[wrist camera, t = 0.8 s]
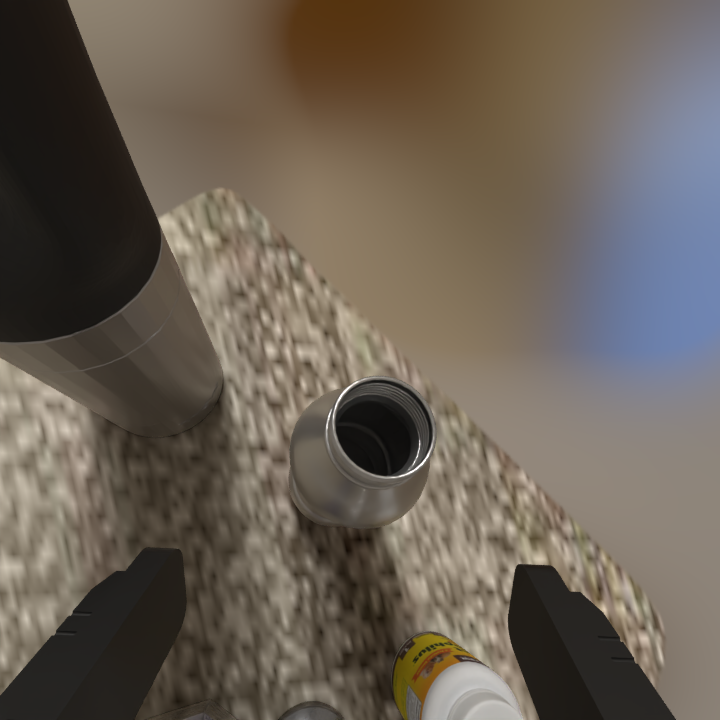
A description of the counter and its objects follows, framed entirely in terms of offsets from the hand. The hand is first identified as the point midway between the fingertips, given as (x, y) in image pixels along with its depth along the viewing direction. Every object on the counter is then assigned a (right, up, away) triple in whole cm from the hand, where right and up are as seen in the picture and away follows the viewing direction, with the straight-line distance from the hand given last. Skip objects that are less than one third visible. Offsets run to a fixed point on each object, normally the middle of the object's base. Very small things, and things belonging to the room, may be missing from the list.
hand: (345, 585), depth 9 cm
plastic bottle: (-2, -5, +22) cm, 23 cm away
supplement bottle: (+5, -17, +18) cm, 25 cm away
